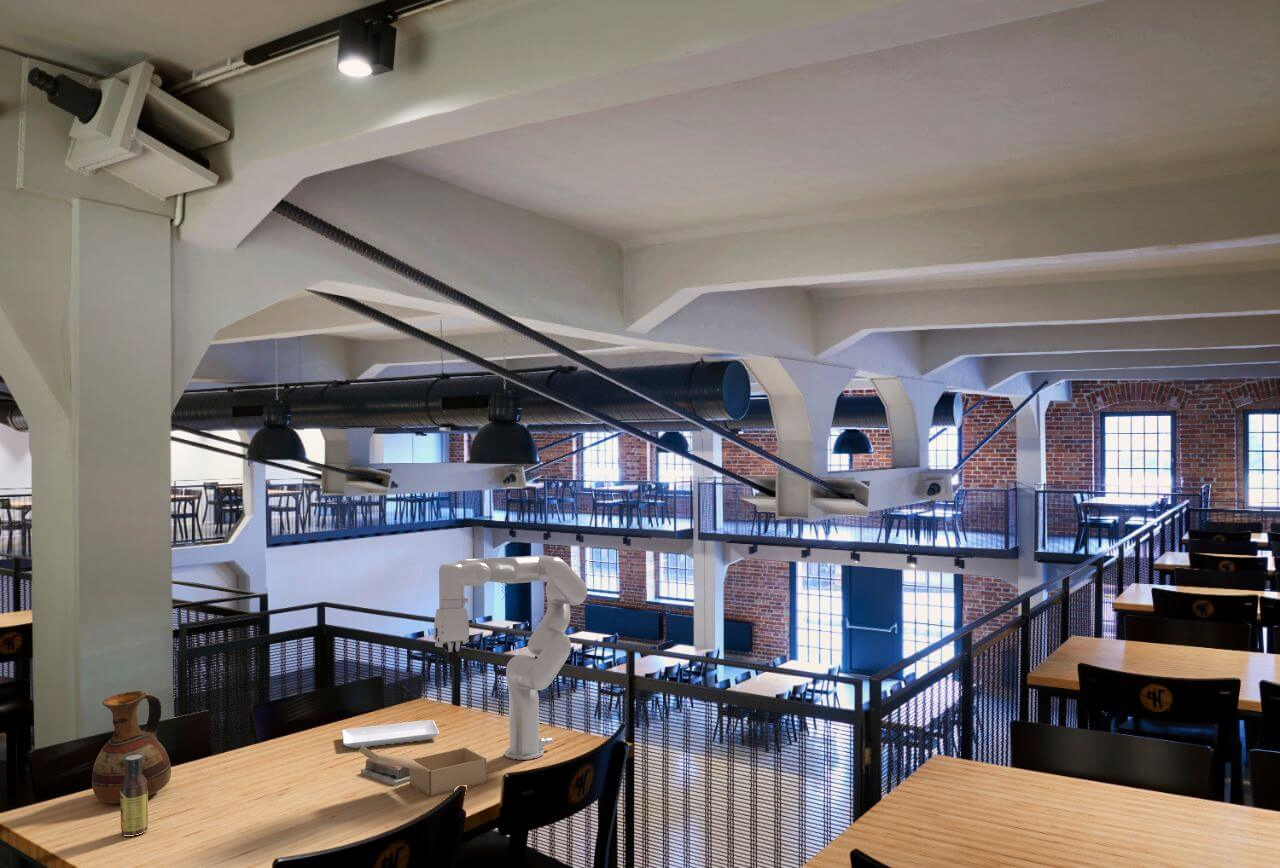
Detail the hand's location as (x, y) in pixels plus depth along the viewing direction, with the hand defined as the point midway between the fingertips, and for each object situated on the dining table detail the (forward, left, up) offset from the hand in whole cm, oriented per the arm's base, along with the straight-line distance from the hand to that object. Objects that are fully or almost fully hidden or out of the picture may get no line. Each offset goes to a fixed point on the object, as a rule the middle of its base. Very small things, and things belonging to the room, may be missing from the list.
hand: (452, 664), depth 285 cm
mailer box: (+5, +7, -33) cm, 34 cm away
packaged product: (+16, -10, -34) cm, 39 cm away
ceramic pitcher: (+81, -41, -33) cm, 97 cm away
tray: (+2, -45, -34) cm, 56 cm away
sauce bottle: (+85, -10, -33) cm, 92 cm away
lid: (+22, +7, -21) cm, 31 cm away
